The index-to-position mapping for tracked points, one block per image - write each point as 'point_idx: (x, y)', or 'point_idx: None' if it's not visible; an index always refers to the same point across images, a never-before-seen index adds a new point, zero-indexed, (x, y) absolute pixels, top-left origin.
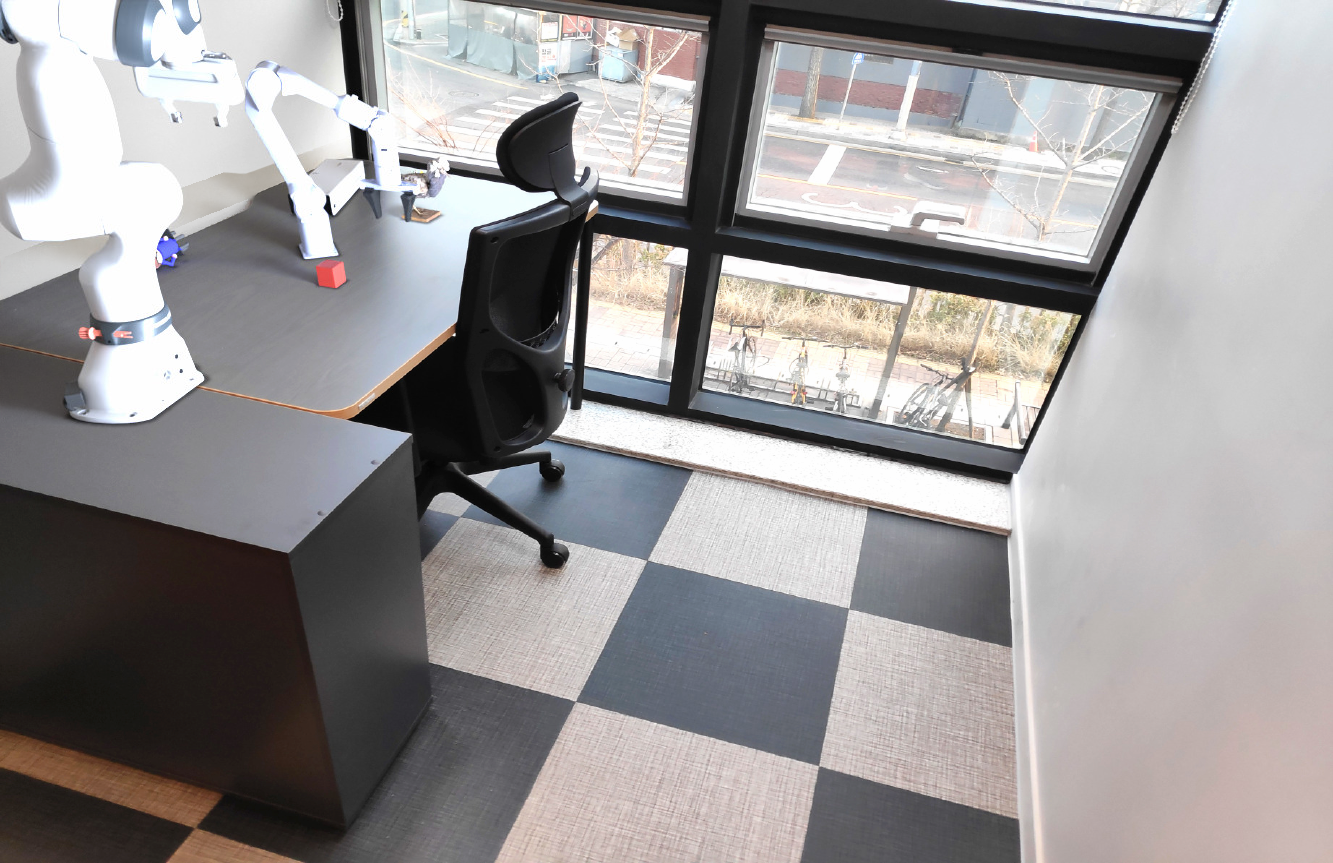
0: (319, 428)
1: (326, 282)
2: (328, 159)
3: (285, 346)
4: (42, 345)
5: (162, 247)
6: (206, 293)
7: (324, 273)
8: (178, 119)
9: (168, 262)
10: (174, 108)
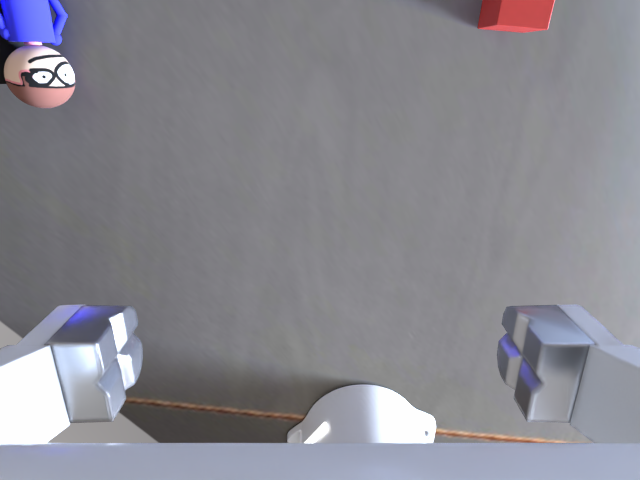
0: None
1: (504, 29)
2: None
3: None
4: (138, 386)
5: (33, 26)
6: (249, 143)
7: (513, 28)
8: (131, 360)
9: (60, 25)
10: (13, 365)
